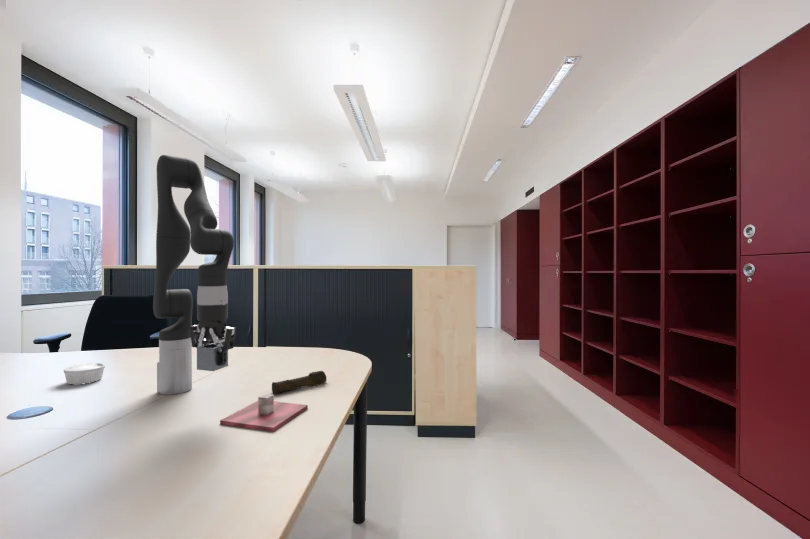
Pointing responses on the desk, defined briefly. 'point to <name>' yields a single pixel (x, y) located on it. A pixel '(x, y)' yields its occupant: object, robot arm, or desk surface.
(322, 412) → the desk surface
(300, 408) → the post base
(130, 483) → the desk surface
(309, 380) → the hand tool
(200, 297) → the robot arm
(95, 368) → the ramekin
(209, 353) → the square socket
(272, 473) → the desk surface
